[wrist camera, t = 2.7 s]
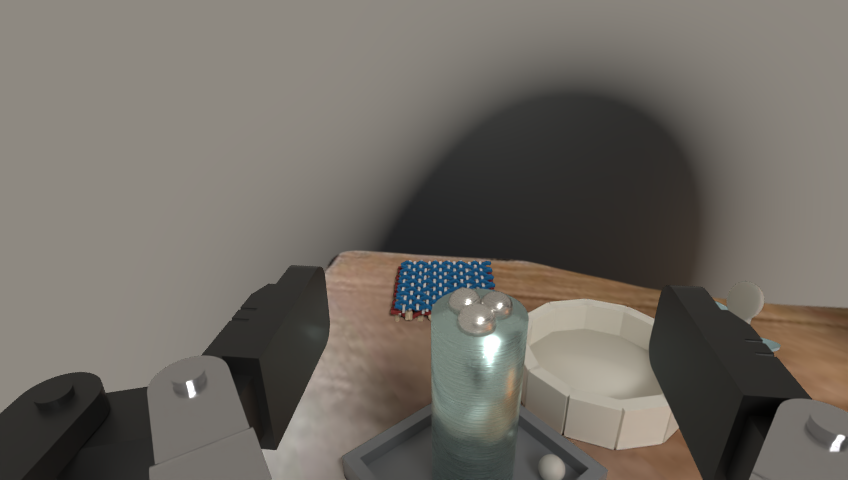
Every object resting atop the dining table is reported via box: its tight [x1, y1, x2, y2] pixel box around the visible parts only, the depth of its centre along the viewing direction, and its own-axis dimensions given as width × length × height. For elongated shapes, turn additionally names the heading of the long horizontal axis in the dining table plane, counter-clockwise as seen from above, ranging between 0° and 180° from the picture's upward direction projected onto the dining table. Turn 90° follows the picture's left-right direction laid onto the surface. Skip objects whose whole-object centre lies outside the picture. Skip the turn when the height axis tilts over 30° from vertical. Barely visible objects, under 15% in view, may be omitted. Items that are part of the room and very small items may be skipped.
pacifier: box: [715, 281, 780, 352], centre depth 42 cm, size 7×6×6 cm
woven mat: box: [391, 260, 495, 322], centre depth 51 cm, size 10×11×2 cm
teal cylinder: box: [431, 288, 529, 480], centre depth 28 cm, size 5×5×13 cm
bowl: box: [521, 299, 679, 450], centre depth 38 cm, size 13×13×4 cm
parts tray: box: [342, 403, 608, 480], centre depth 30 cm, size 12×11×3 cm
